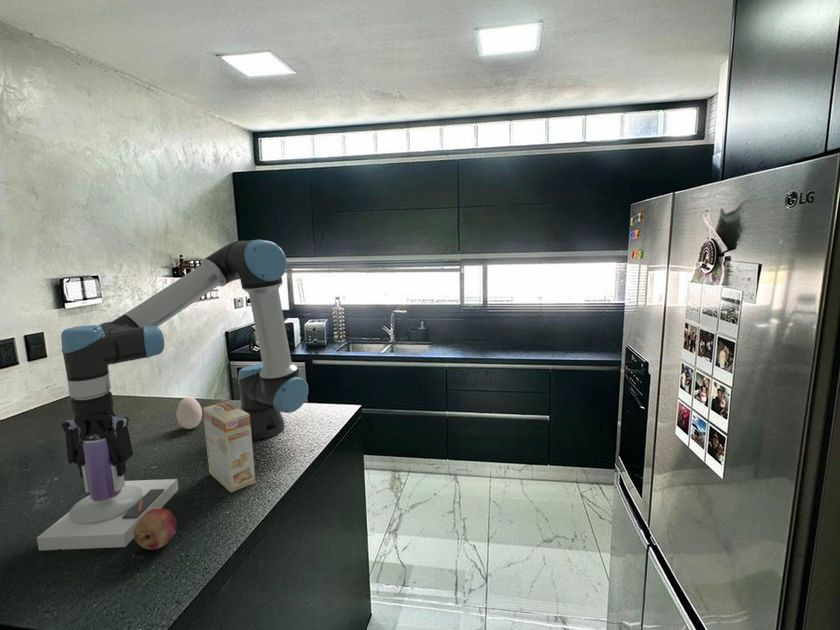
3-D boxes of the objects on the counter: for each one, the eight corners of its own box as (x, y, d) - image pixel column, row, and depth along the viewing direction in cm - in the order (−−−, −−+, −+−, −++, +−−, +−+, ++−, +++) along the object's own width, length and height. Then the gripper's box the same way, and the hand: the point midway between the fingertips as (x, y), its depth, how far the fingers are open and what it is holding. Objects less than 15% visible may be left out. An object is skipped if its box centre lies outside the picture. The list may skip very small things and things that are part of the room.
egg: (208, 425, 155) (205, 395, 153) (187, 434, 148) (184, 402, 147) (194, 422, 159) (190, 392, 157) (173, 430, 152) (169, 399, 150)
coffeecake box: (256, 482, 117) (250, 413, 114) (230, 493, 112) (222, 422, 109) (233, 464, 128) (227, 400, 124) (208, 473, 123) (201, 407, 119)
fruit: (129, 550, 92) (124, 515, 91) (166, 529, 98) (162, 497, 97) (149, 563, 88) (144, 527, 87) (186, 541, 94) (182, 507, 93)
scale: (178, 489, 115) (176, 475, 114) (125, 547, 93) (122, 529, 92) (108, 492, 114) (106, 478, 114) (38, 550, 92) (35, 533, 92)
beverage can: (106, 504, 99) (96, 442, 97) (84, 502, 100) (74, 440, 98) (128, 490, 105) (120, 431, 103) (107, 487, 106) (98, 429, 104)
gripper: (143, 387, 103) (155, 478, 106) (61, 390, 102) (76, 481, 106) (123, 398, 95) (136, 496, 99) (34, 401, 95) (52, 499, 98)
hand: (105, 488), depth 102 cm, fingers closed on beverage can, 6 cm apart
